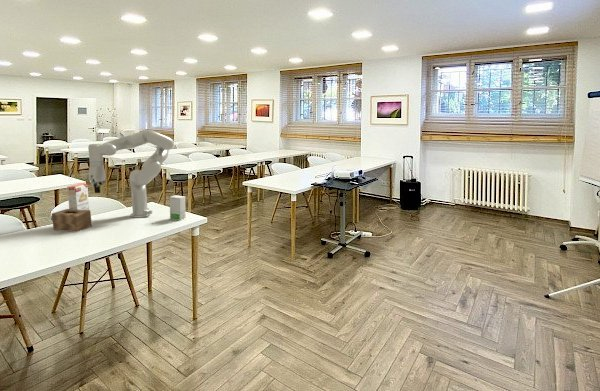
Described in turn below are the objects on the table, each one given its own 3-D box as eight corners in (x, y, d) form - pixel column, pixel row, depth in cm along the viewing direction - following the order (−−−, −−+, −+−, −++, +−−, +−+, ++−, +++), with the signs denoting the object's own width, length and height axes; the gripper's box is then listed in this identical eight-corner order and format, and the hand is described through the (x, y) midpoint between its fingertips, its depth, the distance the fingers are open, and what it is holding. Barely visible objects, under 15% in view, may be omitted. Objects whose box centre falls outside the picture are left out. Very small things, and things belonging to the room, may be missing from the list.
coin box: (91, 226, 231) (90, 210, 229) (77, 231, 220) (75, 215, 218) (68, 224, 234) (67, 208, 232) (53, 229, 222) (51, 213, 220)
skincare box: (169, 219, 250) (168, 196, 246) (175, 217, 256) (174, 194, 253) (180, 220, 247) (179, 197, 244) (186, 218, 253) (185, 195, 250)
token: (105, 193, 240) (104, 184, 239) (102, 194, 237) (101, 185, 236) (96, 193, 241) (96, 184, 240) (93, 194, 238) (92, 184, 237)
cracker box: (78, 217, 250) (75, 186, 245) (69, 217, 250) (66, 186, 245) (90, 212, 263) (87, 183, 259) (82, 212, 263) (79, 182, 259)
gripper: (100, 162, 244) (102, 189, 248) (81, 165, 228) (84, 194, 232) (110, 162, 243) (112, 190, 246) (92, 165, 227) (95, 195, 231)
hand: (99, 192), depth 239 cm, fingers closed on token, 3 cm apart
